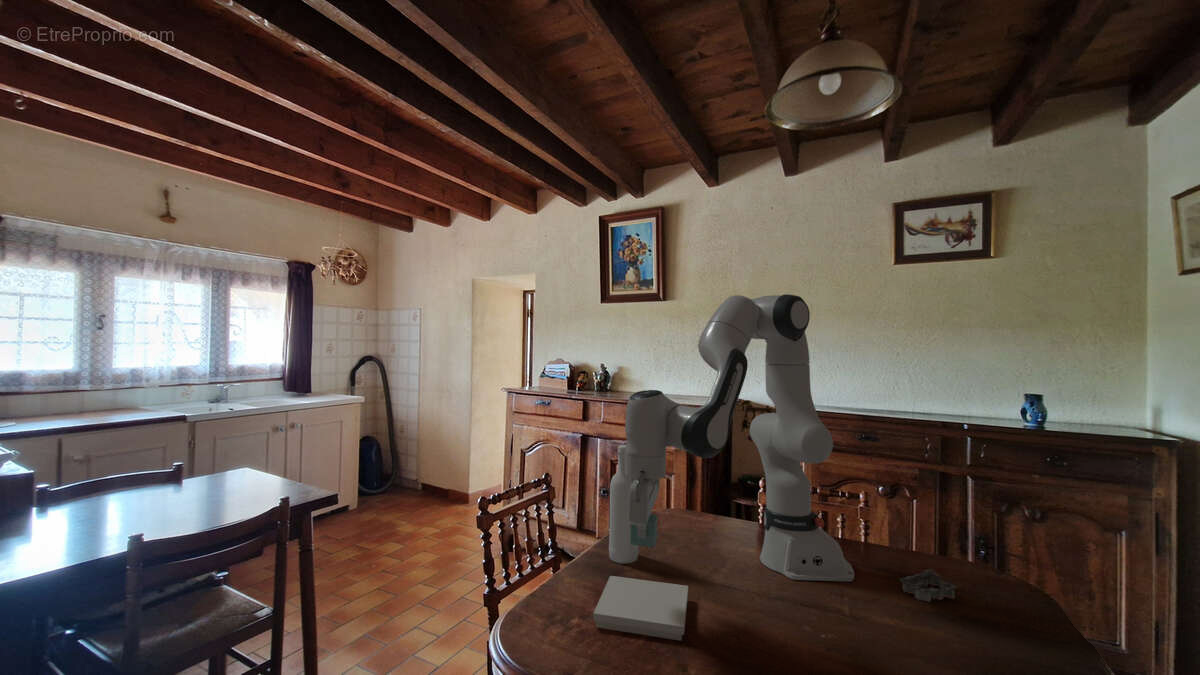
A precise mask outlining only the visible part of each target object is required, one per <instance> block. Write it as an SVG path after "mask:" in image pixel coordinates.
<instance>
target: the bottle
mask: <svg viewBox="0 0 1200 675" xmlns="http://www.w3.org/2000/svg"><path fill="white" fill-rule="evenodd" d="M626 445H627V444H619V445H618V446H617V472H616V473H615V474H613V476H612V478H611V481H610V483H609V533H608V534H609V537H608V538H609V540H608V541H609V544H608V554H609V555H608V557H609V559H610V560H611V561H612V562H614V563H617V564H621V565H622V564H623V565H624V564H632V563H635V562H636V561H637V560H638V558H639V546H638V545H631V524H630V522H629V498H630V488H631V484H632V483H631V482H630V477H629V476H627V475H625V448H626Z"/></svg>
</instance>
